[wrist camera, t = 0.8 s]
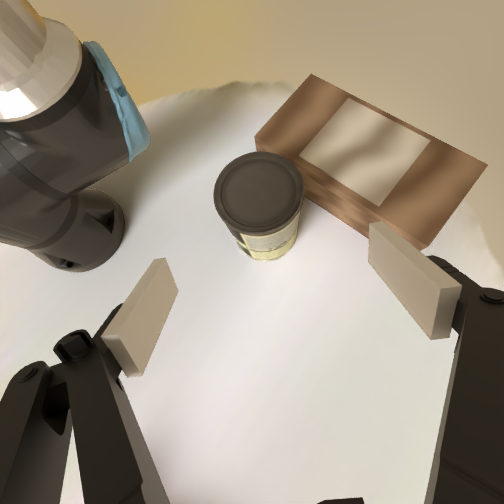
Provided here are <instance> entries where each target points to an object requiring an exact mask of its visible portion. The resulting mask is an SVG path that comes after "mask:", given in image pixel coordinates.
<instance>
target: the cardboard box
mask: <svg viewBox="0 0 504 504" xmlns="http://www.w3.org/2000/svg"><path fill="white" fill-rule="evenodd" d="M254 137H255V144H256V150H257V152H270V153H275V154H278V155H280V156H283V157H284V158H286V159H288V160H289V161H290V162H291V163H293V165H294V166H295V167H296V168H297V169H298V171H299V173H300V174H301V177H302V179H303V183H304V196H305V197H307V198H308V199H310V200H311V201H313V202H314V203H316V204H317V205H319V206H320V207H322V208H323V209H325V210H326V211H328V212H329V213H331V214H332V215H334V216H335V217H337V218H338V219H340V220H341V221H343V222H344V223H346V224H347V225H349V226H350V227H352V228H353V229H355V230H356V231H358V232H359V233H361V234H362V235H364V236H365V237H367V238H368V239H369V224H370V223H376V222H382V221H383V222H384V223H385V224H386V225H388V226H389V227H390V228H391V229H393V230H394V231H395V232H396V233H397V234H399V235H400V236H401V237H402V238H404V239H405V240H406V241H407V242H409V243H410V244H411V245H412V246H414V247H415V248H416V249H417V250H419V251H420V250H422V249H424V248H426V247H428V246H429V245H430V244H431V242H432V241H433V239H434V238H435V237H436V235H437V234H438V233H439V231H440V230H441V229H442V227H443V226H444V224H445V223H446V222H447V220H448V219H449V218H450V216H451V215H452V213H453V212H454V211H455V209H456V208H457V207H458V205H459V204H460V203H461V201H462V200H463V198H464V197H465V196H466V194H467V193H468V191H469V190H470V189H471V188H472V186H473V185H474V183H475V182H476V181H477V179H478V178H479V177H480V175H481V174H482V173H483V171H484V170H485V168H486V167H487V166H488V165H487V164H485V163H483V162H481V161H479V160H477V159H476V158H474V157H472V156H470V155H468V154H466V153H464V152H462V151H460V150H458V149H456V148H454V147H452V146H450V145H448V144H447V143H444V142H442V141H441V140H438V139H437V138H435V137H433V136H431V135H429V134H427V133H425V132H423V131H421V130H419V129H417V128H415V127H413V126H412V125H410V124H408V123H406V122H404V121H402V120H400V119H398V118H396V117H394V116H392V115H390V114H388V113H386V112H384V111H382V110H380V109H378V108H376V107H375V106H373V105H371V104H369V103H367V102H365V101H363V100H361V99H359V98H357V97H355V96H353V95H351V94H349V93H347V92H345V91H343V90H341V89H340V88H338V87H336V86H334V85H332V84H330V83H328V82H326V81H324V80H322V79H320V78H318V77H316V76H314V75H312V74H311V75H310V76H309V77H308V78H307V79H306V80H305V81H304V82H303V83H302V85H301V86H300V87H299V88H298V89H297V90H296V91H295V92H294V93H293V94H292V95H291V97H290V98H289V99H288V100H287V101H286V102H285V103H284V104H283V105H282V106H281V107H280V109H279V110H278V111H277V112H276V113H275V114H274V115H273V116H272V117H271V118H270V120H269V121H268V122H267V123H266V124H265V125H264V126H263V127H262V128H261V129H260V131H259V132H258V133H257V134H256V135H255V136H254Z"/></svg>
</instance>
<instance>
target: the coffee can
mask: <svg viewBox="0 0 504 504" xmlns="http://www.w3.org/2000/svg"><path fill="white" fill-rule="evenodd" d="M303 200H304V183H303V179H302V177H301V174H300V173H299V171H298V169H297V168H296V167H295V166H294V165H293V163H291V162H290V161H289V160H288V159H286V158H284V157H283V156H280V155H278V154H275V153H270V152H252V153H248V154H245V155H242V156H240V157H238V158H236V159H235V160H233V161H232V162H230V163H229V164H228V165H227V166H226V167H225V168H224V169H223V170H222V172H221V173H220V175H219V177H218V179H217V181H216V183H215V187H214V204H215V207H216V210H217V212H218V214H219V216H220V217H221V219H222V220H223V221H224V222H225V224H226V225H227V227H228V228H229V230H230V232H231V233H232V235H233V236H234V238H235V240H236V241H237V243H238V245H239V247H240V249H241V250H242V251H243V252H244V253H245V254H246V255H247V256H249V257H250V258H252V259H255V260H258V261H273V260H276V259H279V258H281V257H282V256H284V255H285V254H287V253H288V252H289V251H290V249H291V248H292V246H293V245H294V243H295V240H296V237H297V227H298V222H299V215H300V209H301V207H302V204H303Z"/></svg>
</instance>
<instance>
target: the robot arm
mask: <svg viewBox="0 0 504 504" xmlns="http://www.w3.org/2000/svg"><path fill="white" fill-rule="evenodd" d="M149 144H150V134H149V131H148V129H147V127H146V125H145V123H144V121H143V119H142V117H141V115H140V113H139V111H138V109H137V107H136V105H135V103H134V102H133V100H132V98H131V96H130V95H129V93H128V92H127V91H126V87H125V86H124V84H123V82H122V80H121V78H120V76H119V75H118V73H117V71H116V69H115V68H114V66H113V65H112V63H111V61H110V59H109V58H108V56H107V54H106V53H105V51H104V50H103V48H102V47H101V46H100V45H99V44H98V43H97V42H95V41H91V42H83V44H82V43H81V42H80V41H79V39H78V38H77V36H76V35H75V34H74V32H73V31H72V30H71V29H70V28H69V27H67V26H66V25H64V24H63V23H61V22H58V21H55V20H52V19H48V18H45V17H41V16H40V15H39V14H38V13H37V12H36V11H35V9H34V8H33V7H32V6H31V5H30V3H29V2H28V1H27V0H0V242H1V243H5V244H9V245H13V246H17V247H21V248H24V249H27V250H29V251H30V252H32V253H33V254H34V255H36V256H37V257H39V258H40V259H42V260H43V261H45V262H46V263H47V264H49V265H51V266H52V267H55V268H57V269H61V270H65V271H70V272H85V271H89V270H92V269H94V268H96V267H98V266H100V265H101V264H103V263H104V262H105V261H107V260H108V259H109V258H110V257H111V256H112V255H113V253H114V252H115V251H116V249H117V248H118V246H119V244H120V242H121V240H122V237H123V233H124V225H125V224H124V216H123V212H122V210H121V208H120V206H119V205H118V204H117V202H116V201H114V200H113V199H112V198H110V197H109V196H108V195H106V194H105V193H103V192H101V191H99V190H96V189H92V188H88V186H90V185H92V184H93V183H95V182H97V181H99V180H100V179H102V178H104V177H105V176H107V175H109V174H110V173H112V172H114V171H115V170H117V169H119V168H120V167H122V166H124V165H125V164H127V163H130V162H132V160H133V159H134V158H135V157H136V156H138V155H139V154H140V153H142V152H143V151H145V150H146V149H147V148H148V146H149ZM368 262H369V263H370V265H371V266H372V267H373V268H374V270H375V271H376V272H377V273H378V275H379V276H380V277H381V278H382V280H383V281H384V282H385V284H386V285H387V286H388V287H389V289H390V290H391V291H392V292H393V294H394V295H395V296H396V297H397V299H398V300H399V301H400V302H401V304H402V305H403V306H404V307H405V309H406V310H407V311H408V312H409V314H410V315H411V316H412V317H413V319H414V320H415V321H416V322H417V324H418V325H419V326H420V327H421V329H422V330H423V331H424V332H425V334H426V335H427V336H428V338H429V339H430V340H434V339H442V338H449V337H450V333H451V329H452V328H453V329H454V330H455V331H456V332H457V333H458V334H459V336H458V340H457V343H456V347H455V351H454V353H455V354H454V359H453V364H452V369H451V374H450V379H449V384H448V389H447V394H446V399H445V404H444V408H443V413H442V418H441V423H440V428H439V433H438V438H437V443H436V448H435V453H434V458H433V463H432V468H431V473H430V478H429V483H428V487H427V492H426V497H425V502H424V504H504V292H503V291H500V290H497V289H493V288H482V287H481V286H479V285H478V284H477V283H475V282H474V281H473V280H471V279H470V278H468V277H467V276H466V275H464V274H463V273H462V272H459V270H458V269H456V268H455V267H453V266H452V265H451V264H450V263H448V262H447V261H446V260H444V259H442V258H439V257H437V256H434V255H432V256H425V255H424V254H422V253H421V252H420V251H419V250H417V249H416V248H415V247H414V246H412V245H411V244H410V243H409V242H407V241H406V240H405V239H404V238H402V237H401V236H400V235H399V234H397V233H396V232H395V231H394V230H393V229H391V228H390V227H389V226H388V225H386V224H385V223H384V222H383V221H382V222H376V223H370V224H369V254H368ZM177 293H178V288H177V286H176V283H175V281H174V278H173V276H172V274H171V271H170V269H169V266H168V264H167V261H166V259H165V258H160V259H154V260H153V262H152V263H151V265H150V266H149V268H148V269H147V271H146V272H145V273H144V275H143V276H142V278H141V279H140V281H139V282H138V284H137V285H136V286H135V288H134V289H133V291H132V292H131V294H130V295H129V296H128V298H127V299H126V301H125V302H124V303H122V304H120V305H118V306H117V307H116V308H115V309H114V310H113V311H112V312H111V313H110V315H109V316H108V319H106V320H105V322H104V323H103V325H102V326H101V327H100V328H99V330H98V331H97V333H96V334H95V335H94V337H93V338H91V336H90V335H89V333H88V332H87V331H86V330H83V329H81V330H76V331H74V332H71V333H69V334H67V335H66V336H64V337H63V338H62V339H60V340H59V341H58V342H57V343H56V345H55V346H54V349H53V351H54V352H55V354H56V355H57V356H58V357H59V359H60V360H61V361H62V363H59V364H57V365H54V366H51V367H49V366H48V365H47V364H46V363H45V362H44V361H37V362H34V363H31V364H29V365H28V366H25V367H24V368H23V369H21V370H20V371H18V373H16V374H15V375H14V376H13V378H12V379H11V380H10V382H9V384H8V386H7V388H6V390H5V393H4V395H3V397H2V399H1V401H0V504H59V503H60V497H61V492H62V486H63V480H64V474H65V468H66V462H67V456H68V450H69V444H70V438H71V432H72V426H73V430H74V436H75V443H76V450H77V456H78V463H79V470H80V477H81V483H82V490H83V497H84V503H85V504H170V502H169V500H168V497H167V495H166V492H165V490H164V487H163V485H162V482H161V480H160V477H159V475H158V472H157V470H156V467H155V465H154V462H153V460H152V457H151V455H150V452H149V450H148V447H147V445H146V442H145V440H144V437H143V435H142V432H141V430H140V427H139V425H138V422H137V420H136V417H135V415H134V412H133V410H132V407H131V405H130V402H129V400H128V397H127V395H126V392H125V390H124V387H123V385H122V383H121V381H120V379H119V378H118V376H119V374H120V372H121V370H123V372H124V373H125V375H126V376H127V378H128V377H136V376H142V375H143V373H144V371H145V368H146V366H147V364H148V361H149V359H150V357H151V354H152V352H153V350H154V347H155V345H156V343H157V340H158V338H159V336H160V333H161V331H162V329H163V326H164V324H165V321H166V319H167V317H168V314H169V312H170V310H171V307H172V305H173V303H174V300H175V298H176V296H177ZM318 504H364V501H363V498H362V497H361V498H347V499H333V500H324V501H322V502H320V503H318Z"/></svg>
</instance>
